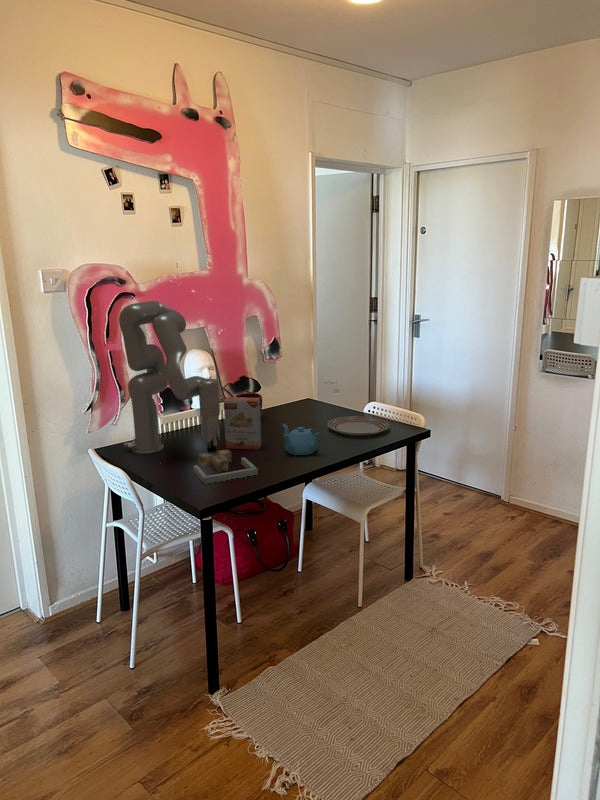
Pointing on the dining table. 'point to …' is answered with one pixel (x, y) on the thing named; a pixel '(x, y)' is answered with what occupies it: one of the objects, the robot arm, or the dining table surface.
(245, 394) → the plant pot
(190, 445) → the dining table surface
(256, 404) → the cracker box
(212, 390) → the robot arm
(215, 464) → the t block
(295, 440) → the teapot
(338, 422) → the dinner plate
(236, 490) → the dining table surface
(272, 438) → the dining table surface
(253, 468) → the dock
